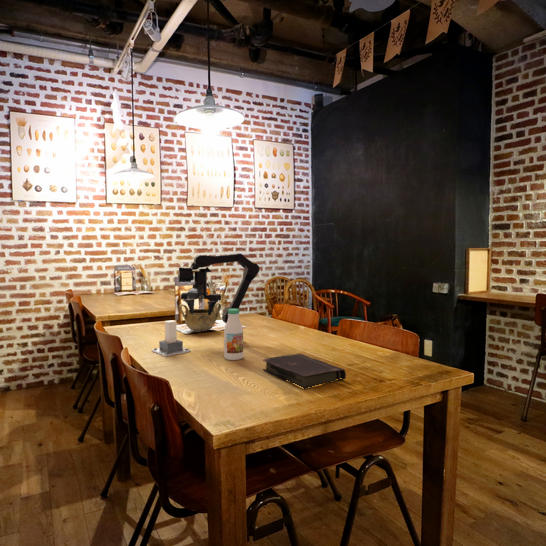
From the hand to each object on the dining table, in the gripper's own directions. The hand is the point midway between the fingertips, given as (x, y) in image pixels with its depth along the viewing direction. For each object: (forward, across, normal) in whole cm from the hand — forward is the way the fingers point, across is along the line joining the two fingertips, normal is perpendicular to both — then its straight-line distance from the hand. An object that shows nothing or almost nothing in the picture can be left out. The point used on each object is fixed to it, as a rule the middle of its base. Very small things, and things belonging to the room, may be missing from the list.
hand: (200, 314), depth 201 cm
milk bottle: (+13, +27, -20) cm, 36 cm away
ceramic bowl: (+13, -14, +23) cm, 30 cm away
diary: (+14, +60, -32) cm, 69 cm away
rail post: (+12, -3, -20) cm, 24 cm away
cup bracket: (+13, -3, -20) cm, 24 cm away
